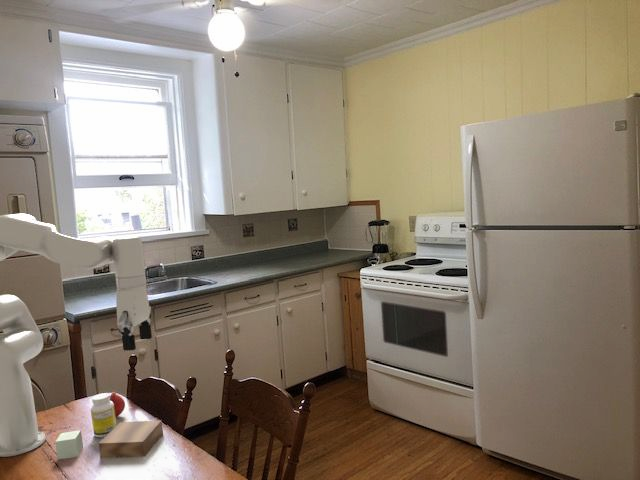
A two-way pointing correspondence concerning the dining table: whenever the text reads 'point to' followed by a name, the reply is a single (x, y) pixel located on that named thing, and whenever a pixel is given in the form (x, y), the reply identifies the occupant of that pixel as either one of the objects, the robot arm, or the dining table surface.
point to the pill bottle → (103, 415)
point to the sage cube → (69, 444)
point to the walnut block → (131, 439)
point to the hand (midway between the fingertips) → (138, 344)
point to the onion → (117, 404)
